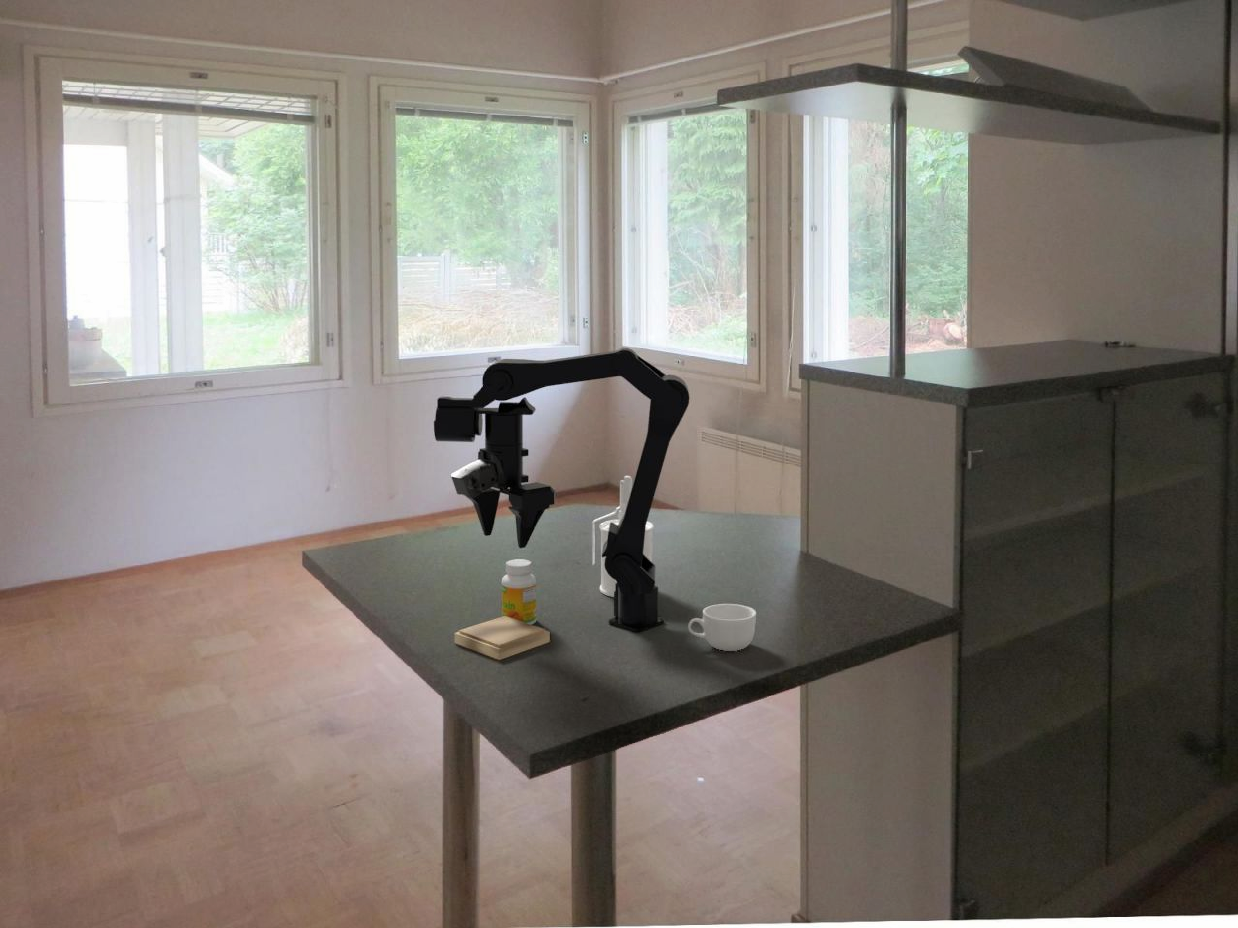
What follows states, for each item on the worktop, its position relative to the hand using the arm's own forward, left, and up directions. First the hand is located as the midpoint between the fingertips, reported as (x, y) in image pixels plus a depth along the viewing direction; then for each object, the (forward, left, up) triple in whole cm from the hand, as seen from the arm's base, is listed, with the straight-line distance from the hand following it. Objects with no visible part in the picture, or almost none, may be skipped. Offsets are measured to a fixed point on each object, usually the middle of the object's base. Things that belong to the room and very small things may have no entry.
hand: (504, 541), depth 173 cm
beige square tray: (-7, +7, -13) cm, 16 cm away
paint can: (-3, -24, -13) cm, 28 cm away
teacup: (-32, -14, -13) cm, 37 cm away
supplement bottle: (-2, -1, -13) cm, 14 cm away
